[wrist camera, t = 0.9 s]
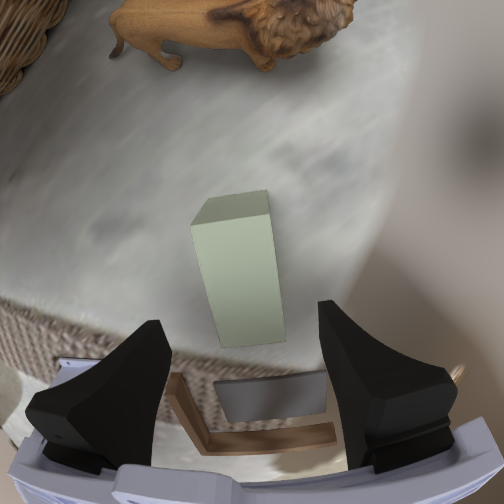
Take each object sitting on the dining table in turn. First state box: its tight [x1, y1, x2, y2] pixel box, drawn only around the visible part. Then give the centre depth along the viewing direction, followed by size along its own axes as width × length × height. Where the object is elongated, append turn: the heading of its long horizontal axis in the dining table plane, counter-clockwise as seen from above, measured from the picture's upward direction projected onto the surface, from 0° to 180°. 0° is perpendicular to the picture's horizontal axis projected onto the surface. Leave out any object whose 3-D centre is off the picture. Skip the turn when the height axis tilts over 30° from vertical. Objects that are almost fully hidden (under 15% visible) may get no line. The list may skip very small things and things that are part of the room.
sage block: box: [190, 190, 286, 348], centre depth 19 cm, size 4×8×6 cm, turn 9°
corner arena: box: [165, 370, 337, 456], centre depth 27 cm, size 16×12×3 cm
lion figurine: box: [109, 0, 357, 72], centre depth 12 cm, size 15×5×9 cm, turn 92°
